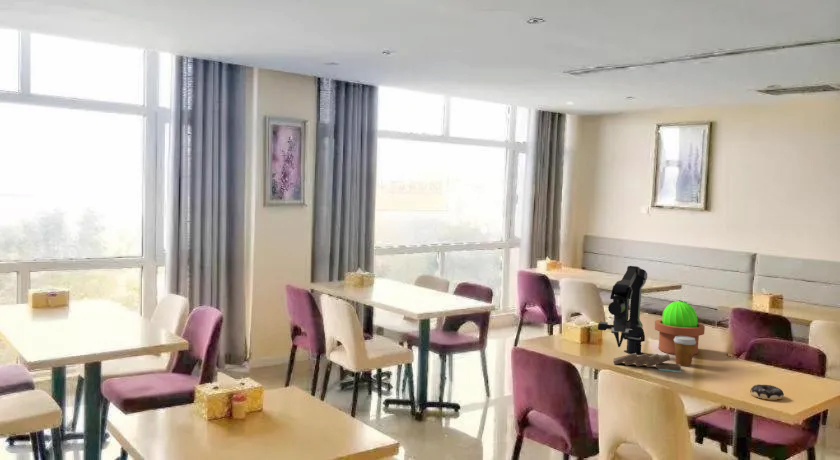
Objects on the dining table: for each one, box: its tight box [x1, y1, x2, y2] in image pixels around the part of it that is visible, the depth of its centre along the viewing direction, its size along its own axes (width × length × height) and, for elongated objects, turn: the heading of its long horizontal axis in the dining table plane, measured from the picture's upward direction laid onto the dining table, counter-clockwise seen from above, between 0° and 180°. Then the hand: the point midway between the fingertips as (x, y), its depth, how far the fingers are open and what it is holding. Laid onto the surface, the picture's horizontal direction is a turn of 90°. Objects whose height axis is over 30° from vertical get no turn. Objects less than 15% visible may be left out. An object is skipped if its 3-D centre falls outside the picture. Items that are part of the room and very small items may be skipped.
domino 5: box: [655, 362, 682, 372], centre depth 305 cm, size 2×5×10 cm
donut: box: [749, 384, 785, 401], centre depth 269 cm, size 11×12×4 cm
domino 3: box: [634, 353, 660, 368], centre depth 308 cm, size 2×5×10 cm
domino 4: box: [645, 353, 671, 368], centre depth 307 cm, size 2×5×10 cm
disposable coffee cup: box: [674, 336, 696, 367], centre depth 314 cm, size 10×10×12 cm
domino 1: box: [613, 353, 638, 365], centre depth 311 cm, size 2×5×10 cm
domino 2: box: [623, 353, 649, 367], centre depth 309 cm, size 2×5×10 cm
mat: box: [658, 368, 682, 373], centre depth 305 cm, size 9×8×1 cm
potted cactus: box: [654, 300, 706, 356], centre depth 339 cm, size 22×22×25 cm
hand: (619, 346), depth 311 cm, fingers closed
